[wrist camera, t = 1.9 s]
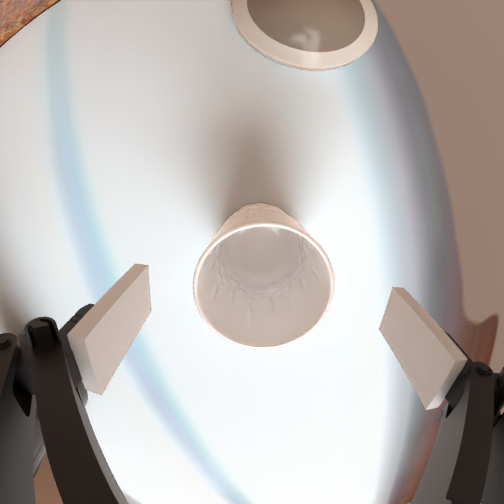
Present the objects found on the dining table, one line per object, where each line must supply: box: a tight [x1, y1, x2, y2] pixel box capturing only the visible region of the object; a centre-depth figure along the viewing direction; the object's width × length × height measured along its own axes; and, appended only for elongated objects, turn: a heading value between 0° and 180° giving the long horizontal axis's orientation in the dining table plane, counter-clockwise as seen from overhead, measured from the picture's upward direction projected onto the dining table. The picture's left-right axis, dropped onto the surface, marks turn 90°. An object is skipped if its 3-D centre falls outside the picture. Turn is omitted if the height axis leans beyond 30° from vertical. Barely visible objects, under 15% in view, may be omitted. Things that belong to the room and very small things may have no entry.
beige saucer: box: [231, 0, 378, 71], centre depth 17 cm, size 13×13×2 cm
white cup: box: [193, 203, 334, 349], centre depth 20 cm, size 8×8×10 cm
